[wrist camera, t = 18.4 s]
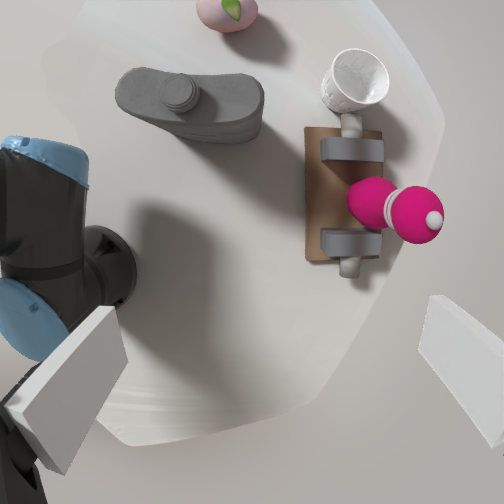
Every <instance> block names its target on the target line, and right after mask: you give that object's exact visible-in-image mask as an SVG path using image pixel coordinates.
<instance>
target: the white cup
mask: <svg viewBox="0 0 504 504" xmlns="http://www.w3.org/2000/svg"><path fill="white" fill-rule="evenodd" d="M389 87H390V78H389V74H388V72H387V69H386V67H385V66H384V64H383V63H382V62H381V61H380V60H379V59H378V58H377V57H376V56H375V55H373V54H371V53H370V52H368V51H365V50H362V49H347V50H344V51H342V52H341V53H339V54H338V55H337V56H336V57H335V59H334V61H333V62H332V64H331V66H330V67H329V69H328V71H327V73H326V74H325V76H324V79H323V81H322V83H321V87H320V95H321V99H322V100H323V102H324V103H325V105H326V106H327V107H328V108H330V109H331V110H333V111H335V112H338V113H344V114H346V113H349V112H352V111H356V110H359V109H362V108H365V107H367V106H370V105H372V104H375V103H377V102H379V101H381V100H382V99H383V98H384V97H385V96H386V95H387V93H388V91H389Z"/></svg>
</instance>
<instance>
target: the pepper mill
mask: <svg viewBox="0 0 504 504" xmlns="http://www.w3.org/2000/svg"><path fill="white" fill-rule="evenodd" d="M346 202H347V207H348V209H349V211H350V213H351V214H352V215H353V216H354V217H356V218H357V220H358V221H359V222H360V223H361V224H363V225H364V226H366V227H370V228H373V229H382V228H387V227H390V228H392V229H393V230H395V231H396V232H397V234H398V235H399V236H400V237H401V238H403V239H404V240H405V241H407V242H410V243H413V244H423V243H427V242H429V241H431V240H432V239H434V238H435V237H436V236H437V235H438V233H439V232H440V230H441V228H442V225H443V221H444V210H443V206H442V203H441V202H440V200H439V198H438V197H437V196H436V194H434V193H433V192H432V191H431V190H429V189H427V188H425V187H420V186H412V187H408V188H406V189H404V188H402V189H397V188H396V186H395V185H393V184H392V183H391V182H390V181H388V180H387V179H384V178H381V177H369V178H366V179H362V180H358V181H356V182H355V183H353V184H352V185H351V187H350V188H349V190H348V192H347V197H346Z"/></svg>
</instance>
